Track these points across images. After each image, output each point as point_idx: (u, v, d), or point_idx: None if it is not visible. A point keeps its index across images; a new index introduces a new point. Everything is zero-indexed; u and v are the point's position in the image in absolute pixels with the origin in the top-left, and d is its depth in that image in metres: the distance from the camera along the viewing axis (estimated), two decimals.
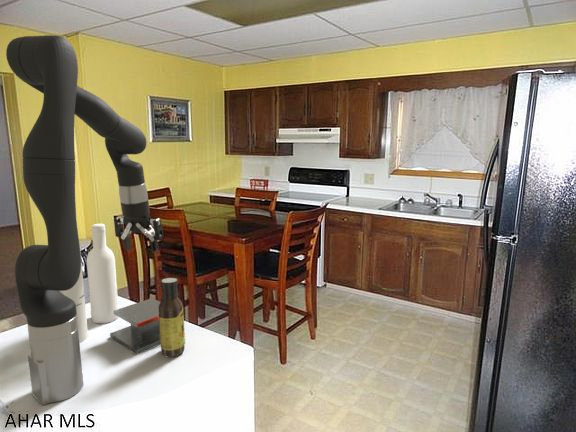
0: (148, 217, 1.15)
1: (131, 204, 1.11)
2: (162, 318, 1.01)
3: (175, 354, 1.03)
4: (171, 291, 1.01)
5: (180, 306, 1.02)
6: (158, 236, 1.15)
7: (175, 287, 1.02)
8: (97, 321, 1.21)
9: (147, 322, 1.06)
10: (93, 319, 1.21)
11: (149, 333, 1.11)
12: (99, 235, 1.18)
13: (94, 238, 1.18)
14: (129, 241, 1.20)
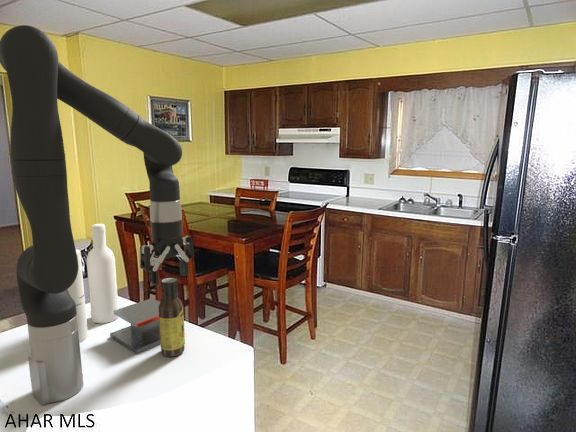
0: (154, 242, 0.97)
1: None
2: (162, 318, 1.01)
3: (175, 354, 1.03)
4: (171, 291, 1.01)
5: (180, 306, 1.02)
6: None
7: (175, 287, 1.02)
8: (97, 321, 1.21)
9: (147, 322, 1.06)
10: (93, 319, 1.21)
11: (149, 333, 1.11)
12: (99, 235, 1.18)
13: (94, 238, 1.18)
14: (183, 267, 1.04)
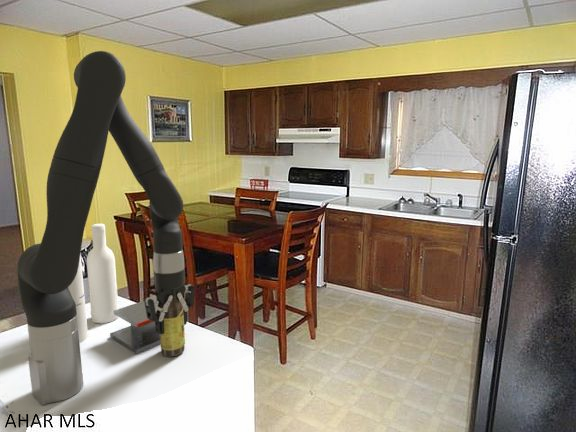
0: (157, 291, 0.99)
1: None
2: None
3: (175, 354, 1.03)
4: (171, 291, 1.01)
5: (180, 306, 1.02)
6: None
7: None
8: (97, 321, 1.21)
9: (147, 322, 1.06)
10: (93, 319, 1.21)
11: (149, 333, 1.11)
12: (99, 235, 1.18)
13: (94, 238, 1.18)
14: None
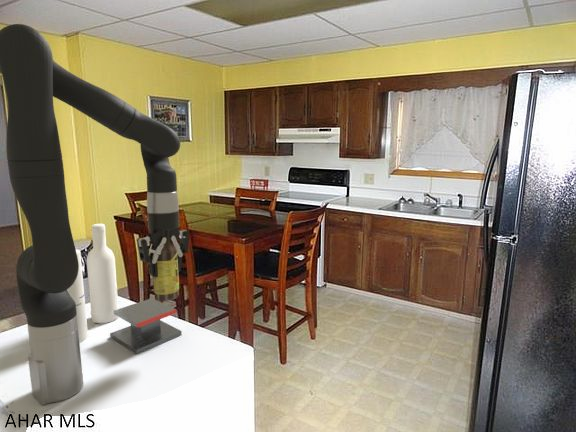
0: (150, 233, 0.97)
1: None
2: None
3: (169, 299, 1.00)
4: (164, 233, 0.99)
5: (174, 250, 1.00)
6: None
7: (169, 230, 1.00)
8: (97, 321, 1.21)
9: (147, 322, 1.06)
10: (93, 319, 1.21)
11: (149, 333, 1.11)
12: (99, 235, 1.18)
13: (94, 238, 1.18)
14: None
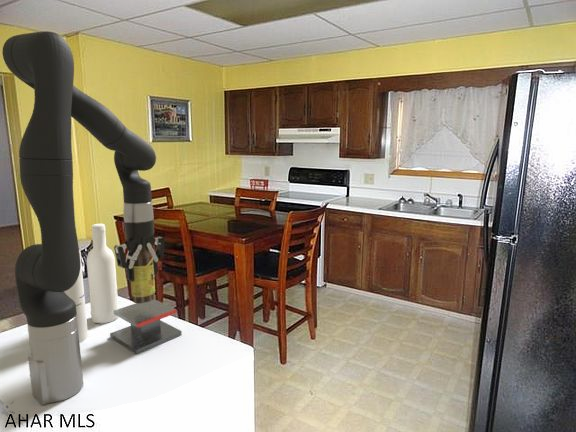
0: (127, 240, 1.05)
1: None
2: None
3: (145, 301, 1.09)
4: (140, 241, 1.07)
5: (149, 255, 1.08)
6: None
7: None
8: (97, 321, 1.21)
9: (147, 322, 1.06)
10: (93, 319, 1.21)
11: (149, 333, 1.11)
12: (99, 235, 1.18)
13: (94, 238, 1.18)
14: None
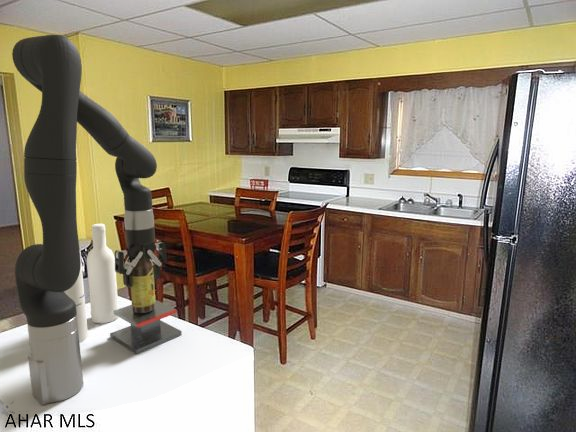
0: (127, 247, 1.06)
1: None
2: (132, 276, 1.07)
3: (145, 311, 1.09)
4: None
5: (150, 266, 1.09)
6: None
7: (145, 247, 1.08)
8: (97, 321, 1.21)
9: (147, 322, 1.06)
10: (93, 319, 1.21)
11: (149, 333, 1.11)
12: (99, 235, 1.18)
13: (94, 238, 1.18)
14: (156, 270, 1.13)
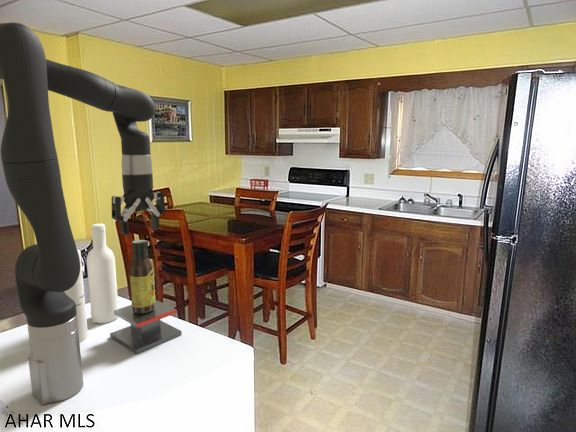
0: (125, 193, 1.03)
1: None
2: (132, 276, 1.07)
3: (145, 311, 1.09)
4: (141, 251, 1.07)
5: (150, 266, 1.09)
6: None
7: (145, 248, 1.08)
8: (97, 321, 1.21)
9: (147, 322, 1.06)
10: (93, 319, 1.21)
11: (149, 333, 1.11)
12: (99, 235, 1.18)
13: (94, 238, 1.18)
14: (154, 221, 1.10)
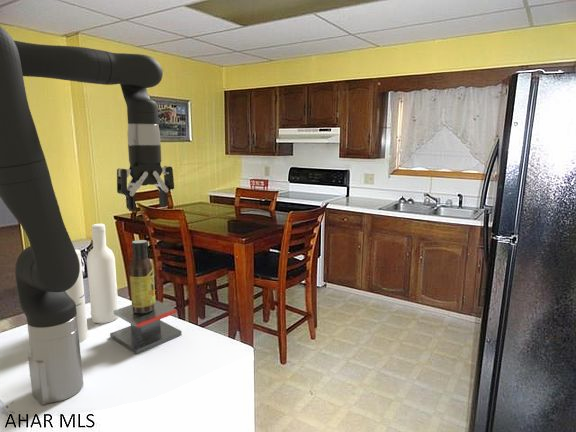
0: (131, 166, 0.95)
1: None
2: (132, 276, 1.07)
3: (145, 311, 1.09)
4: (140, 251, 1.07)
5: (150, 266, 1.09)
6: None
7: (145, 248, 1.08)
8: (97, 321, 1.21)
9: (147, 322, 1.06)
10: (93, 319, 1.21)
11: (149, 333, 1.11)
12: (99, 235, 1.18)
13: (94, 238, 1.18)
14: (162, 197, 1.02)
